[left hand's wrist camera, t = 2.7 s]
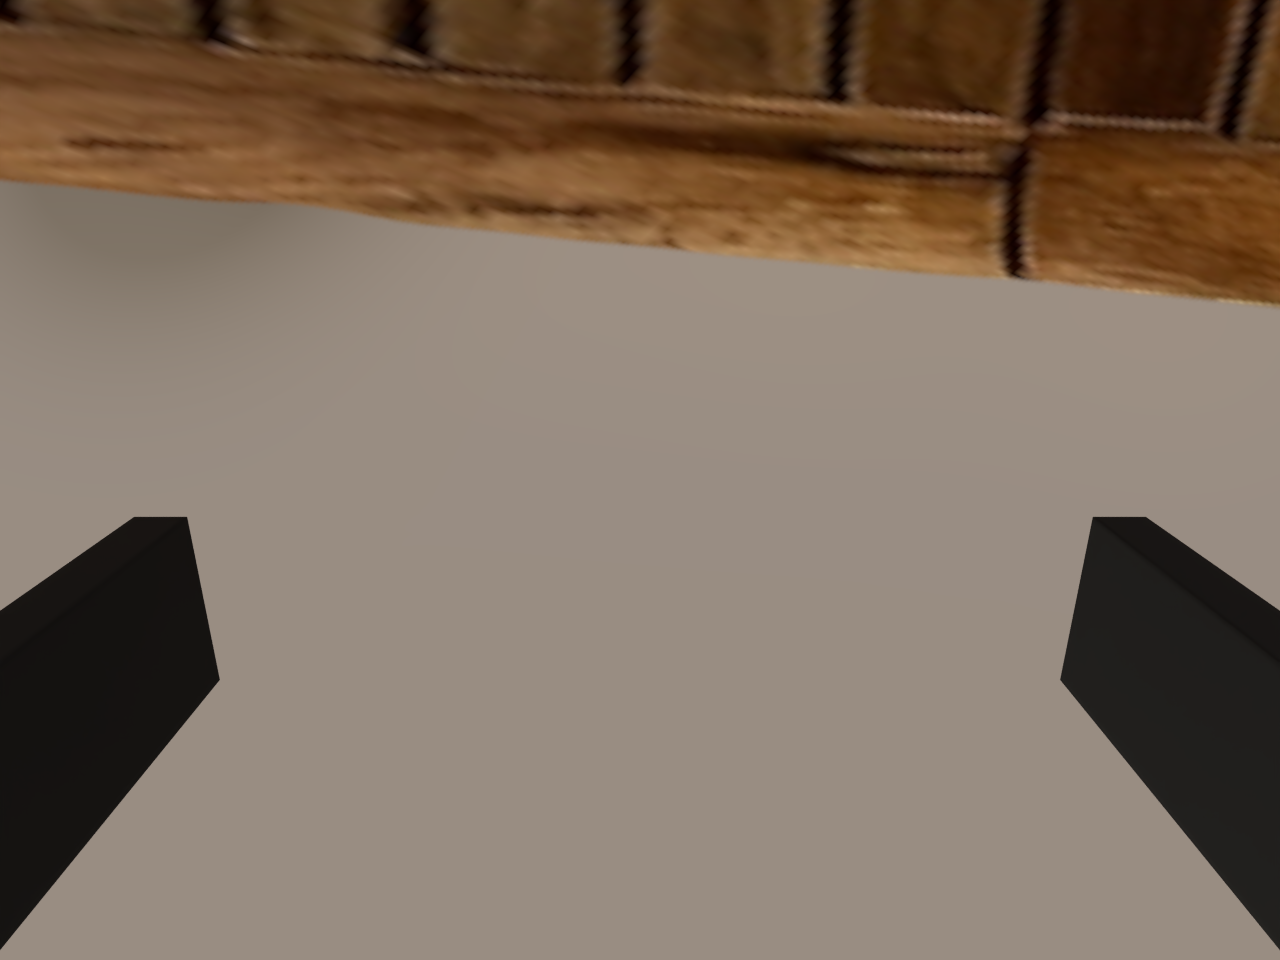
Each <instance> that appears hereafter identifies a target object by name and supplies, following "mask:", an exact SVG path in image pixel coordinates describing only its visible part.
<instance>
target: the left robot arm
mask: <svg viewBox="0 0 1280 960" xmlns="http://www.w3.org/2000/svg"><path fill="white" fill-rule="evenodd" d="M219 680H220V679H219V674H218V669H217V664H216V659H215V654H214V649H213V644H212V639H211V634H210V629H209V624H208V619H207V614H206V609H205V604H204V599H203V594H202V589H201V584H200V579H199V574H198V569H197V564H196V559H195V554H194V549H193V544H192V539H191V534H190V529H189V524H188V519H187V517H133V518H132V519H131V520H129V521H128V522H126V523H125V524H123V525H122V526H121V527H119V528H118V529H116V530H115V531H113V532H112V533H111V534H109V535H108V536H106V537H105V538H103V539H102V540H101V541H99V542H98V543H96V544H95V545H93V546H92V547H91V548H89V549H88V550H86V551H85V552H83V553H82V554H81V555H79V556H78V557H76V558H75V559H73V560H72V561H71V562H69V563H68V564H66V565H65V566H63V567H62V568H61V569H59V570H58V571H56V572H55V573H53V574H52V575H51V576H49V577H48V578H46V579H45V580H44V581H42V582H41V583H39V584H38V585H36V586H35V587H33V588H32V589H31V590H29V591H28V592H26V593H25V594H24V595H22V596H21V597H19V598H18V599H16V600H15V601H14V602H12V603H11V604H9V605H8V606H6V607H5V608H3V609H2V610H1V611H0V949H1V948H2V947H3V946H4V945H5V943H6V942H7V941H8V940H9V938H10V937H11V936H12V935H13V933H14V932H15V931H16V930H17V929H18V927H19V926H20V925H21V924H22V922H23V921H24V920H25V919H26V918H27V916H28V915H29V914H30V913H31V911H32V910H33V909H34V908H35V906H36V905H37V904H38V903H39V901H40V900H41V899H42V898H43V896H44V895H45V894H46V893H47V892H48V890H49V889H50V888H51V887H52V885H53V884H54V883H55V882H56V881H57V879H58V878H59V877H60V876H61V874H62V873H63V872H64V871H65V870H66V868H67V867H68V866H69V865H70V863H71V862H72V861H73V860H74V858H75V857H76V856H77V855H78V853H79V852H80V851H81V850H82V849H83V847H84V846H85V845H86V844H87V842H88V841H89V840H90V839H91V838H92V836H93V835H94V834H95V833H96V831H97V830H98V829H99V828H100V826H101V825H102V824H103V823H104V822H105V820H106V819H107V818H108V817H109V815H110V814H111V813H112V812H113V810H114V809H115V808H116V807H117V806H118V804H119V803H120V802H121V801H122V799H123V798H124V797H125V796H126V794H127V793H128V792H129V791H130V790H131V788H132V787H133V786H134V785H135V783H136V782H137V781H138V780H139V778H140V777H141V776H142V775H143V774H144V772H145V771H146V770H147V769H148V767H149V766H150V765H151V764H152V763H153V761H154V760H155V759H156V758H157V756H158V755H159V754H160V753H161V751H162V750H163V749H164V748H165V746H166V745H167V744H168V743H169V742H170V740H171V739H172V738H173V737H174V735H175V734H176V733H177V732H178V730H179V729H180V728H181V727H182V726H183V724H184V723H185V722H186V721H187V719H188V718H189V717H190V716H191V715H192V713H193V712H194V711H195V710H196V708H197V707H198V706H199V705H200V703H201V702H202V701H203V700H204V699H205V697H206V696H207V695H208V694H209V692H210V691H211V690H212V689H213V687H214V686H215V685H216V684H217V683H218V681H219ZM1060 680H1061V681H1062V683H1063V684H1064V685H1065V686H1066V687H1067V689H1068V690H1069V691H1070V692H1071V694H1072V695H1073V696H1074V697H1075V699H1076V700H1077V701H1078V702H1079V703H1080V705H1081V706H1082V707H1083V708H1084V710H1085V711H1086V712H1087V713H1088V714H1089V716H1090V717H1091V718H1092V719H1093V721H1094V722H1095V723H1096V724H1097V726H1098V727H1099V728H1100V729H1101V731H1102V732H1103V733H1104V734H1105V735H1106V737H1107V738H1108V739H1109V740H1110V742H1111V743H1112V744H1113V745H1114V747H1115V748H1116V749H1117V750H1118V751H1119V753H1120V754H1121V755H1122V756H1123V758H1124V759H1125V760H1126V761H1127V762H1128V764H1129V765H1130V766H1131V767H1132V769H1133V770H1134V771H1135V772H1136V774H1137V775H1138V776H1139V777H1140V778H1141V780H1142V781H1143V782H1144V783H1145V785H1146V786H1147V787H1148V788H1149V790H1150V791H1151V792H1152V793H1153V794H1154V796H1155V797H1156V798H1157V799H1158V801H1159V802H1160V803H1161V804H1162V806H1163V807H1164V808H1165V809H1166V810H1167V812H1168V813H1169V814H1170V815H1171V817H1172V818H1173V819H1174V820H1175V822H1176V823H1177V824H1178V825H1179V826H1180V828H1181V829H1182V830H1183V831H1184V833H1185V834H1186V835H1187V836H1188V838H1189V839H1190V840H1191V841H1192V842H1193V844H1194V845H1195V846H1196V847H1197V849H1198V850H1199V851H1200V852H1201V854H1202V855H1203V856H1204V857H1205V858H1206V860H1207V861H1208V862H1209V863H1210V865H1211V866H1212V867H1213V868H1214V869H1215V871H1216V872H1217V873H1218V874H1219V876H1220V877H1221V878H1222V879H1223V881H1224V882H1225V883H1226V884H1227V885H1228V887H1229V888H1230V889H1231V890H1232V892H1233V893H1234V894H1235V895H1236V897H1237V898H1238V899H1239V900H1240V902H1241V903H1242V904H1243V905H1244V906H1245V908H1246V909H1247V910H1248V911H1249V913H1250V914H1251V915H1252V916H1253V917H1254V919H1255V920H1256V921H1257V922H1258V924H1259V925H1260V926H1261V927H1262V929H1263V930H1264V931H1265V932H1266V933H1267V935H1268V936H1269V937H1270V938H1271V940H1272V941H1273V942H1274V943H1275V945H1276V946H1277V947H1278V948H1279V949H1280V611H1279V610H1278V609H1277V608H1275V607H1274V606H1272V605H1271V604H1269V603H1268V602H1267V601H1265V600H1264V599H1262V598H1261V597H1259V596H1258V595H1257V594H1255V593H1254V592H1252V591H1251V590H1249V589H1248V588H1246V587H1245V586H1244V585H1242V584H1241V583H1239V582H1238V581H1236V580H1235V579H1234V578H1232V577H1231V576H1229V575H1228V574H1227V573H1225V572H1224V571H1222V570H1221V569H1219V568H1218V567H1217V566H1215V565H1214V564H1212V563H1211V562H1209V561H1208V560H1207V559H1205V558H1204V557H1202V556H1201V555H1199V554H1198V553H1197V552H1195V551H1194V550H1192V549H1191V548H1189V547H1188V546H1187V545H1185V544H1184V543H1182V542H1181V541H1179V540H1178V539H1177V538H1175V537H1174V536H1172V535H1171V534H1169V533H1168V532H1167V531H1165V530H1164V529H1162V528H1161V527H1159V526H1158V525H1157V524H1155V523H1154V522H1152V521H1151V520H1149V519H1148V518H1147V517H1093V520H1092V524H1091V529H1090V534H1089V539H1088V544H1087V549H1086V554H1085V559H1084V564H1083V569H1082V574H1081V579H1080V584H1079V589H1078V594H1077V599H1076V604H1075V609H1074V614H1073V619H1072V624H1071V629H1070V634H1069V639H1068V644H1067V649H1066V654H1065V659H1064V664H1063V669H1062V674H1061V679H1060Z"/></svg>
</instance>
